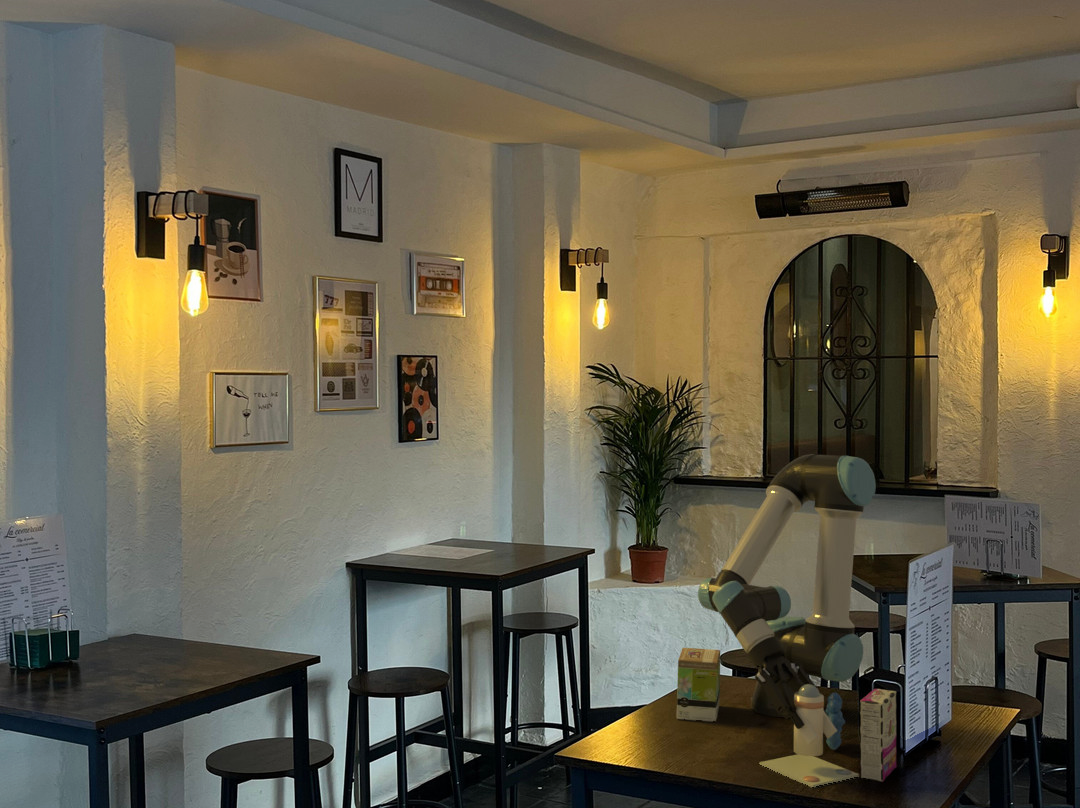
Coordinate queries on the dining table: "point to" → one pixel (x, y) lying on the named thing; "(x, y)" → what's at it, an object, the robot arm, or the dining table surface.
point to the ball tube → (809, 720)
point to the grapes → (835, 719)
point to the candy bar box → (878, 734)
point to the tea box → (698, 684)
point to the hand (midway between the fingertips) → (822, 737)
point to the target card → (809, 770)
